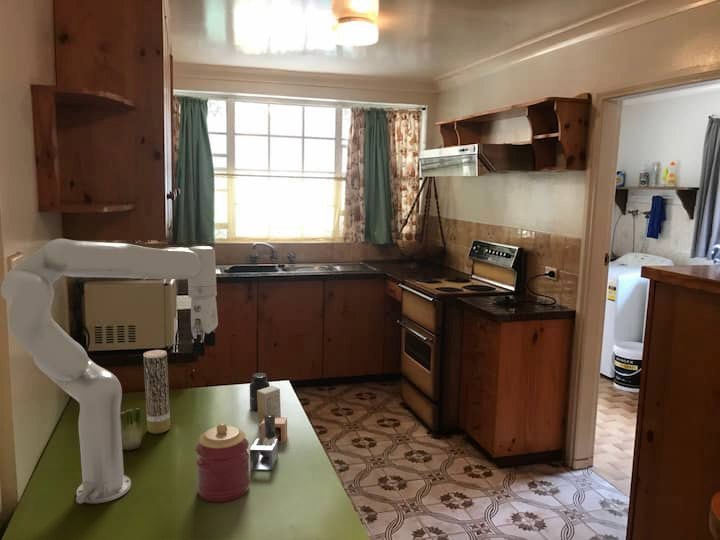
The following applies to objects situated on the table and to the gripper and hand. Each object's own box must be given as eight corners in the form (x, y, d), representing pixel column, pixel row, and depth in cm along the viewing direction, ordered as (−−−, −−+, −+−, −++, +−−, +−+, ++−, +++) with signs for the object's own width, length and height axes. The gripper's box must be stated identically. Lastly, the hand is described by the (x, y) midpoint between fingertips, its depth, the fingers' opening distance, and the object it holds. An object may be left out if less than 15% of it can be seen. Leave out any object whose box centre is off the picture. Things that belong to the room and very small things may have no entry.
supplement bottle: (246, 410, 197) (245, 377, 195) (255, 403, 203) (254, 370, 201) (264, 413, 195) (263, 379, 193) (273, 405, 201) (272, 372, 200)
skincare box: (273, 420, 189) (272, 384, 187) (281, 424, 186) (281, 388, 184) (257, 426, 184) (256, 389, 182) (265, 430, 181) (264, 393, 179)
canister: (195, 481, 150) (192, 417, 148) (245, 473, 155) (243, 410, 152) (200, 507, 138) (197, 438, 136) (254, 497, 143) (252, 430, 140)
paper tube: (173, 425, 184) (170, 350, 181) (164, 435, 178) (160, 356, 174) (153, 424, 185) (149, 349, 181) (143, 434, 178) (139, 356, 175)
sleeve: (272, 470, 156) (272, 450, 155) (250, 470, 156) (249, 449, 155) (277, 456, 164) (277, 437, 163) (256, 456, 164) (256, 436, 163)
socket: (284, 442, 173) (284, 423, 172) (261, 442, 173) (261, 423, 172) (287, 436, 177) (286, 417, 176) (264, 435, 178) (264, 417, 177)
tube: (272, 457, 162) (271, 424, 161) (259, 456, 163) (259, 424, 161) (280, 438, 174) (279, 408, 173) (268, 438, 174) (267, 407, 173)
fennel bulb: (142, 443, 172) (140, 405, 170) (142, 451, 167) (139, 411, 165) (121, 446, 170) (119, 407, 168) (120, 454, 165) (118, 414, 164)
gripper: (206, 297, 151) (208, 360, 153) (224, 285, 168) (226, 342, 171) (178, 297, 151) (180, 360, 154) (198, 285, 168) (201, 342, 171)
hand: (204, 350), depth 162 cm, fingers open, 9 cm apart
